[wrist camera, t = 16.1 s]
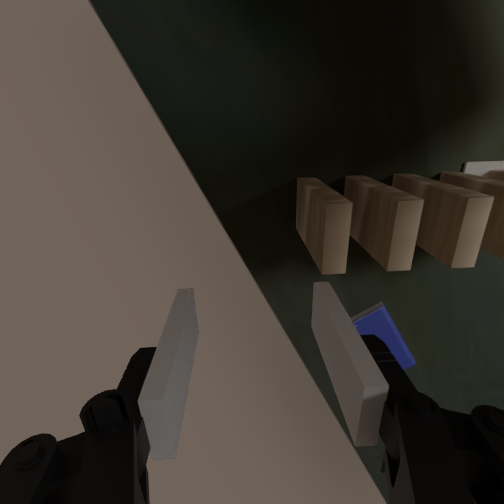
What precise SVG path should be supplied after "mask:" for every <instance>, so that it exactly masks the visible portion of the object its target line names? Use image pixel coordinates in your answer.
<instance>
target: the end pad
mask: <svg viewBox="0 0 504 504" xmlns="http://www.w3.org/2000/svg"><path fill="white" fill-rule="evenodd" d="M491 170H504V161H484V162H465V165H464V169H463V173H468V174H473V175H477V176H482V177H487V178H489V174H490V171H491Z"/></svg>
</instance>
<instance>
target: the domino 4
mask: <svg viewBox="0 0 504 504" xmlns="http://www.w3.org/2000/svg"><path fill="white" fill-rule="evenodd" d="M439 181H440V182H444V183H447V184H451V185H454V186H458V187H461V188H465V189H468V190H472V191H476V192H479V193H483V194H486V195H490V196H493V197H494V200H493V204H492V207H491V210H490V214H489V217H488V221H487V224H486V228H485V231H484V234H483V238H482V241H481V245H480V248H482V249H483V250H485V251H487V252H489V253H491V254H493V255H495V256H497V257H499V258H501V259H503V260H504V181H501V180H496V179H491V178H487V177H482V176H477V175H473V174H468V173H463V172H459V171H457V172H441V176H440V180H439Z"/></svg>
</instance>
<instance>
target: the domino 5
mask: <svg viewBox="0 0 504 504" xmlns="http://www.w3.org/2000/svg"><path fill="white" fill-rule="evenodd" d="M489 178H491V179H496V180H501V181H504V170H491V171H490V174H489Z"/></svg>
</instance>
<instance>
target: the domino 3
mask: <svg viewBox="0 0 504 504" xmlns="http://www.w3.org/2000/svg"><path fill="white" fill-rule="evenodd" d="M392 187H394V188H396V189H399V190H401V191H404V192H406V193H409V194H411V195H414V196H416V197H419V198H421V199H424V204H423V209H422V214H421V219H420V224H419V229H418V234H417V239H416V245H417V246H419V247H420V248H422V249H423V250H425V251H426V252H428V253H429V254H431V255H432V256H434V257H435V258H437V259H438V260H439V261H441V262H442V263H444V264H445V265H447V266H448V267H450V268H465V267H474V265H475V262H476V259H477V255H478V252H479V248H480V245H481V241H482V238H483V234H484V231H485V228H486V224H487V221H488V217H489V214H490V210H491V207H492V204H493V200H494V197H493V196H490V195H486V194H483V193H479V192H476V191H472V190H468V189H465V188H461V187H458V186H454V185H451V184H447V183H444V182H440V181H437V180H433V179H429V178H426V177H422V176H419V175H415V174H412V173H406V174H394V175H393V182H392Z"/></svg>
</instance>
